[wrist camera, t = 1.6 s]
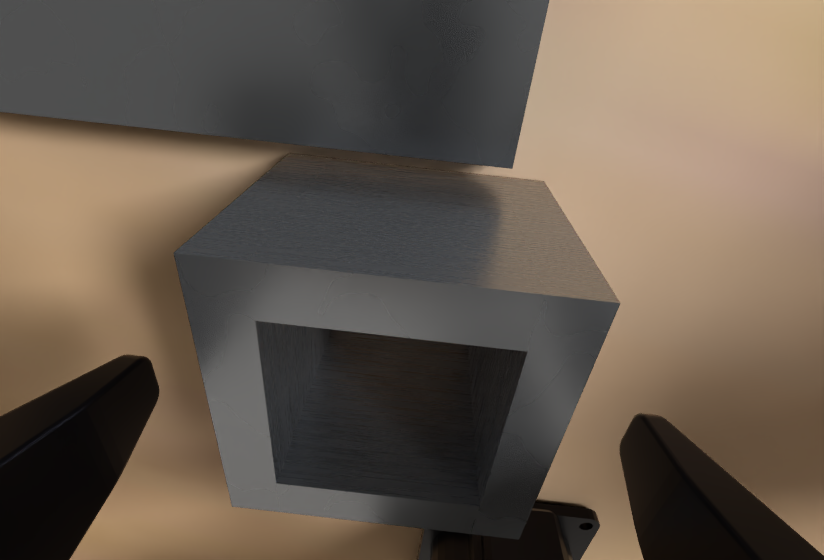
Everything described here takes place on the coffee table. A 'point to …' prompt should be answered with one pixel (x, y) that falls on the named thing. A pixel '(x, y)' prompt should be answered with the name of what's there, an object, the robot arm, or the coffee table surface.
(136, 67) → the flange plate
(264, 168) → the coffee table surface
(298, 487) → the collar
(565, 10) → the coffee table surface
